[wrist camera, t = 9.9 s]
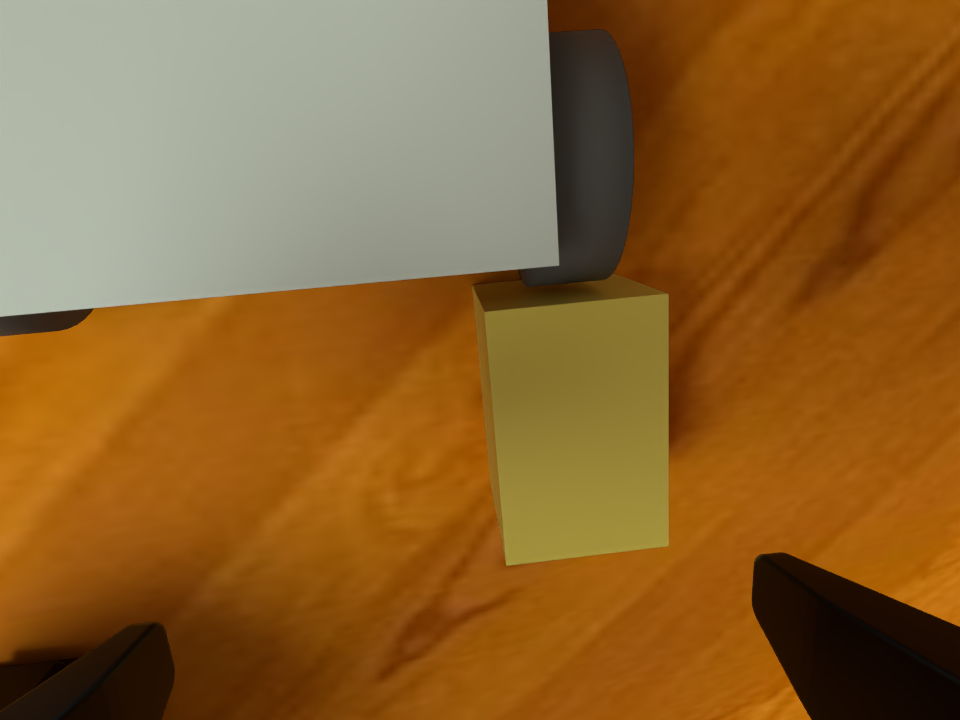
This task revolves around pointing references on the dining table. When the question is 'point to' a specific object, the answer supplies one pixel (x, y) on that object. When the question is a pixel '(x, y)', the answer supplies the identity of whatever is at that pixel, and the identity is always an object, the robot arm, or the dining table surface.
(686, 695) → the dining table surface
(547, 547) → the chock
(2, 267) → the trolley
